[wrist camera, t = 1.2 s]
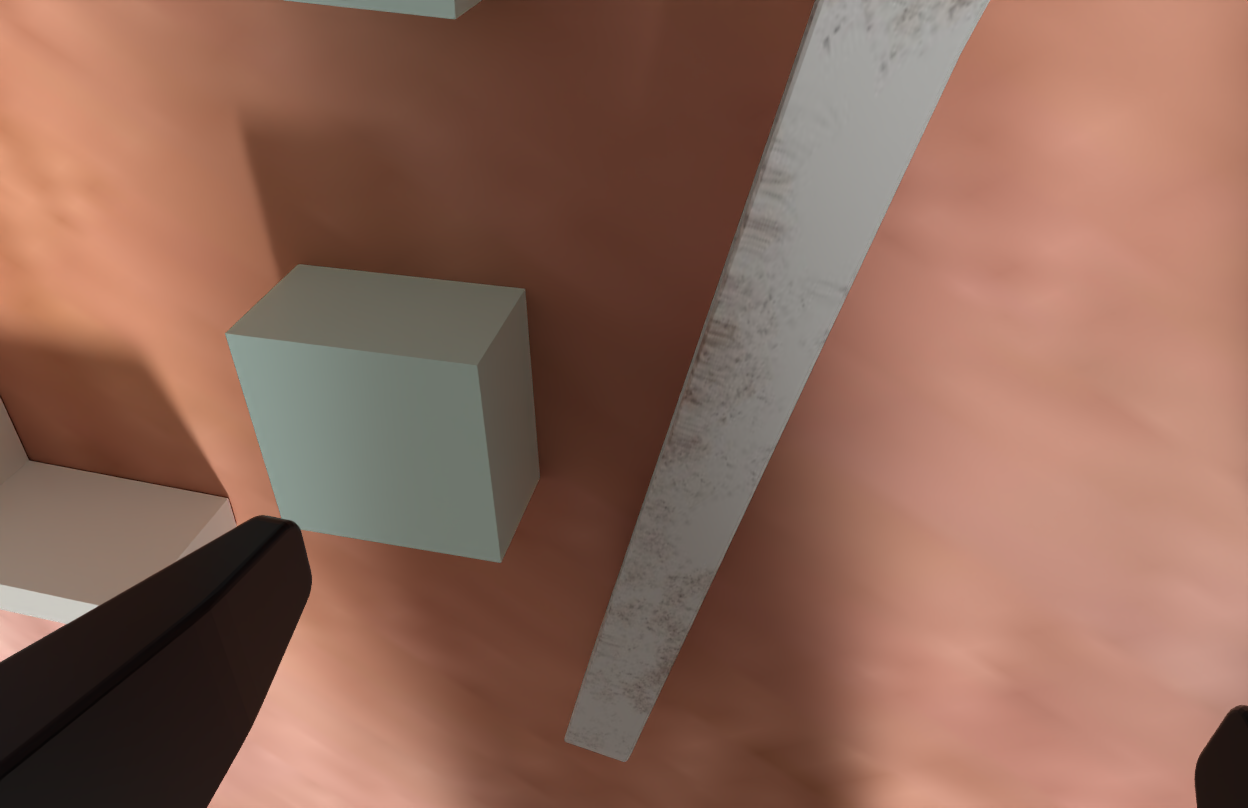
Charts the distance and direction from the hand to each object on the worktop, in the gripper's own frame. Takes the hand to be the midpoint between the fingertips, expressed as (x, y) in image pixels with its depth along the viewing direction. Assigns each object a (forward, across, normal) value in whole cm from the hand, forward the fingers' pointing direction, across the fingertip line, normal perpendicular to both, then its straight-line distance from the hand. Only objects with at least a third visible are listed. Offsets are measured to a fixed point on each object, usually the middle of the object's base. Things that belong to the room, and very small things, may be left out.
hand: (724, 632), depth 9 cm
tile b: (+10, +8, +5) cm, 13 cm away
